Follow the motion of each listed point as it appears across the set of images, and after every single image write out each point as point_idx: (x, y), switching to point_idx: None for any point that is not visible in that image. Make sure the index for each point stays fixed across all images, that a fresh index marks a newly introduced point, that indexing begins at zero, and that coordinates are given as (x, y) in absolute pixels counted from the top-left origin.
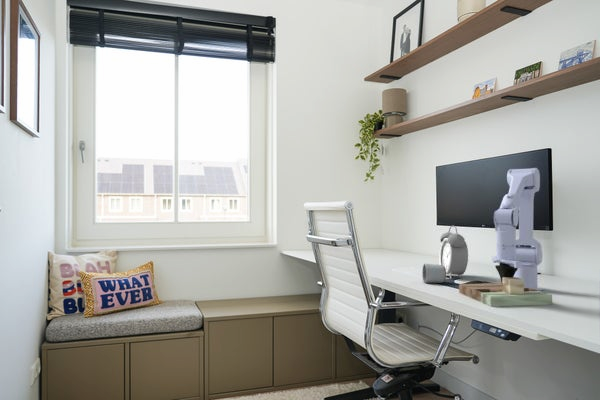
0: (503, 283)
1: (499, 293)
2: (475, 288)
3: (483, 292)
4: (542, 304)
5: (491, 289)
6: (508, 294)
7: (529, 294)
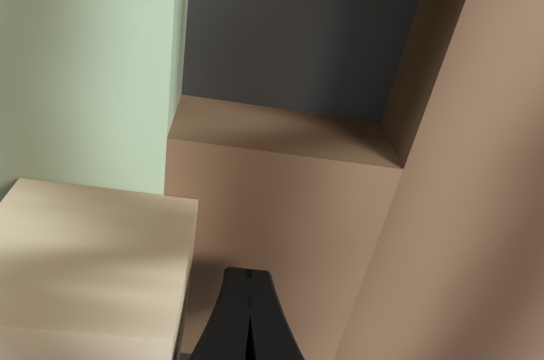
0: (154, 267)
1: (80, 90)
2: (520, 5)
3: (417, 74)
4: None
5: (359, 165)
6: (8, 153)
7: None
